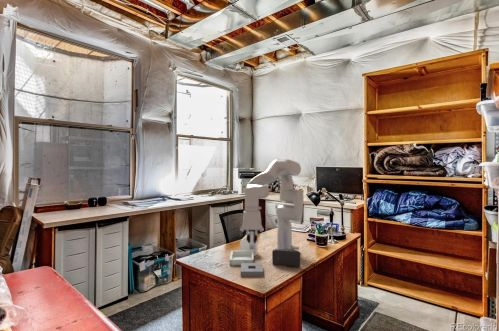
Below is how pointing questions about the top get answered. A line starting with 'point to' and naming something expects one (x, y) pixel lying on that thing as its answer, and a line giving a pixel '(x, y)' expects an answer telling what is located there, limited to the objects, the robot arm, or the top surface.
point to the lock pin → (251, 240)
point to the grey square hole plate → (251, 269)
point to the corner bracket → (247, 246)
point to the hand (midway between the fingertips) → (251, 241)
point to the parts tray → (241, 257)
